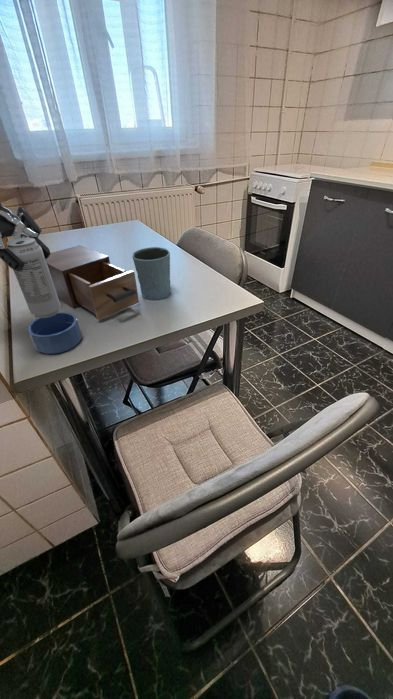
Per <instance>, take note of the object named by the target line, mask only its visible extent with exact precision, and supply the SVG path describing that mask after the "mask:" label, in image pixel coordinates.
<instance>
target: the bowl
mask: <svg viewBox="0 0 393 699" xmlns="http://www.w3.org/2000/svg"><path fill="white" fill-rule="evenodd" d="M27 333H28V337H29V338H30V340H31V342H32V345H33V347H34V349H35V350H36V351H38V352H40V353H43V354H45V355H57V354H58V355H59V354H61V353H65V352H67V351H70V350H71V349H73V348H75V347H77V345H78V344H79V343H80V342H81V340H82V337H83V334H82V331H81V327H80V324H79V321H78V318H77V315H76V314H74V313H72V312H67V311H59V312H58V313H57V314H56V315H54V316H52V317H48V318H37V317H36V319H34V320H32V321H31V322H30V323H29V325H28V326H27Z"/></svg>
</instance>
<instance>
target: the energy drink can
mask: <svg viewBox="0 0 393 699" xmlns="http://www.w3.org/2000/svg"><path fill="white" fill-rule="evenodd" d="M6 246H7V248H8V249H9V250H10V251H12V252H13V253H14V254H15V255H16V256H17V257H18V258H19V259H20V260H21V261H22V262H23V263H24V266H23V269H22V270H21V271H16V270H13V269H12V271H13V273H14V276H15V278H16V280H17V282H18V285H19V287H20V290H21V292H22V295H23V298H24V300H25V302H26V305H27V307H28V310H29V312H30V314H31V315H33V316H34V317H36V319H37V318H48V317H52V316H54V315H56V314H57V313H58V312H60V309H61V307H62V306H61V305H62V304H61V302H60V299H58V296H57V293H56V290H55V287H54V284H53V281H52V278H51V275H50V272H49V269H48V266H47V263H46V260H45V257H44V254H43V251H42V248H41V247H40V246H39V245H38V244H37V243H36V240H35V239H34V238H18V239H15V238H13V239H11V240H8V241H6Z"/></svg>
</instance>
